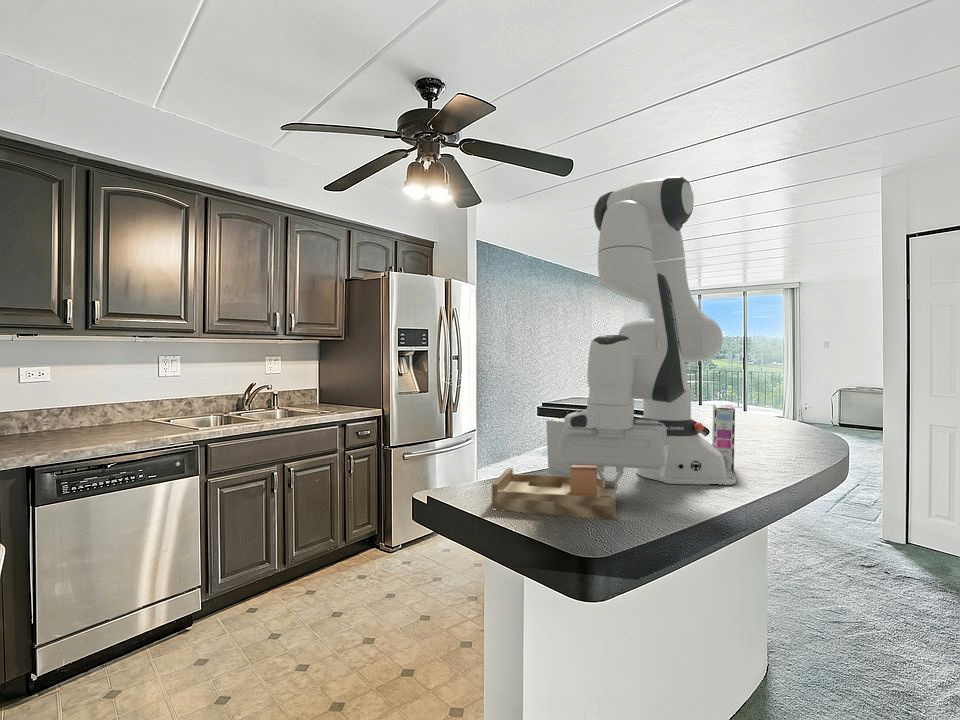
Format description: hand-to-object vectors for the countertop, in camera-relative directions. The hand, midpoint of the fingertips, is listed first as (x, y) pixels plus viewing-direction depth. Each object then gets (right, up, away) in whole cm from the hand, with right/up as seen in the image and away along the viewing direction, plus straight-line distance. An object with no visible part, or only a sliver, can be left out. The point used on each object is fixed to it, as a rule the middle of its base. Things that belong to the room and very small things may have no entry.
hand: (609, 488), depth 101 cm
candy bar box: (+39, -4, +35) cm, 52 cm away
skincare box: (-5, -4, +20) cm, 21 cm away
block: (-5, -1, +1) cm, 5 cm away
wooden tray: (-9, -4, +3) cm, 11 cm away
